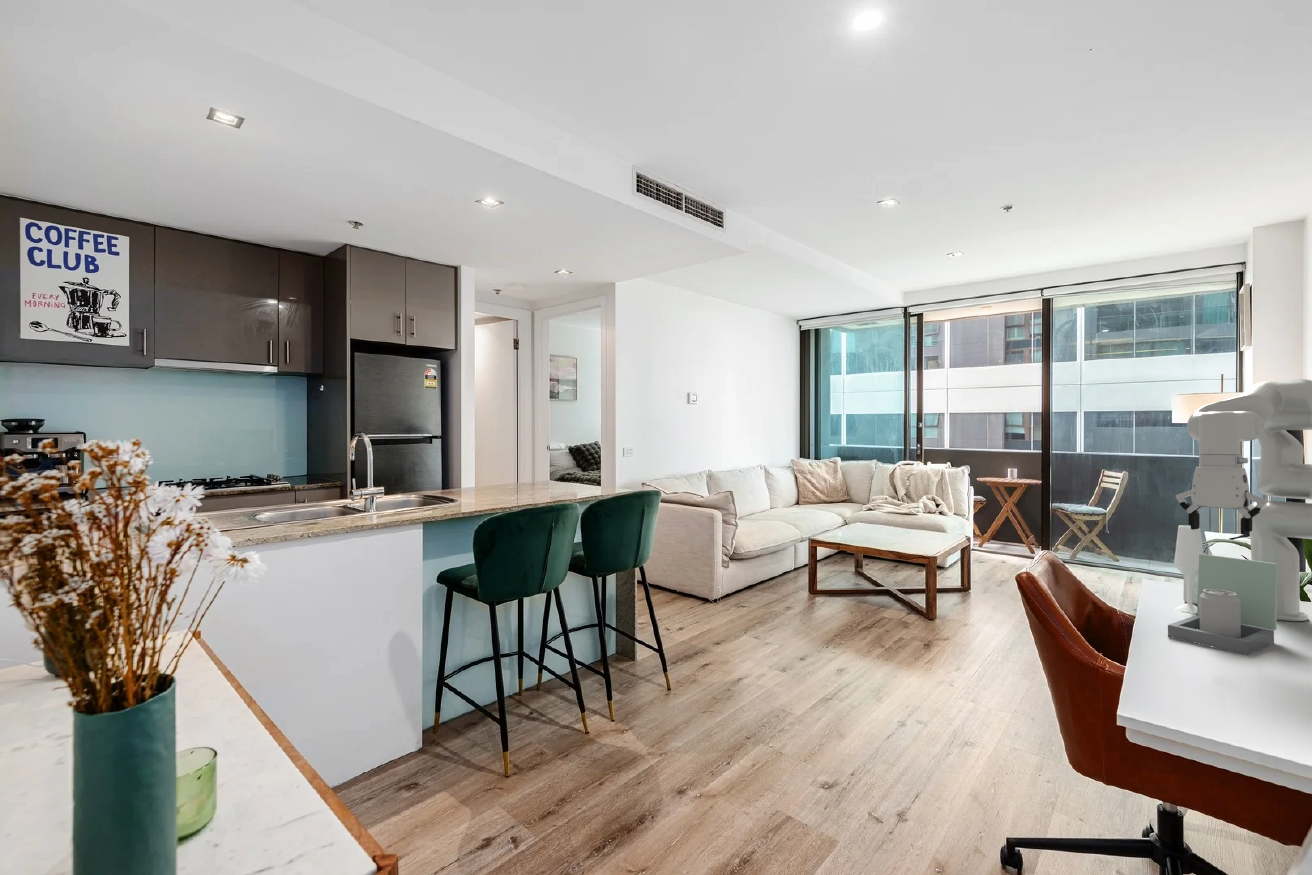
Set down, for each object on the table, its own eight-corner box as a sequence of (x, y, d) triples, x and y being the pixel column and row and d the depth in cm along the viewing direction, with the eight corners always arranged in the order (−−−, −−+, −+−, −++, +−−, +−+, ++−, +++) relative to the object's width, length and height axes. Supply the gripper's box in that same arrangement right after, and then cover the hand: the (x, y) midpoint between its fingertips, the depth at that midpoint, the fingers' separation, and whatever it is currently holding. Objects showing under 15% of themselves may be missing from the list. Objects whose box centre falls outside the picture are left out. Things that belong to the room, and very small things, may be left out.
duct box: (1196, 626, 163) (1196, 615, 163) (1273, 642, 150) (1273, 630, 150) (1167, 636, 156) (1167, 624, 156) (1246, 655, 142) (1246, 641, 142)
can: (1243, 647, 148) (1242, 596, 148) (1201, 641, 152) (1200, 592, 152) (1238, 638, 154) (1238, 590, 154) (1198, 633, 158) (1198, 585, 158)
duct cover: (1196, 614, 164) (1199, 614, 164) (1274, 630, 150) (1276, 630, 151) (1199, 553, 164) (1201, 553, 165) (1276, 563, 151) (1278, 563, 152)
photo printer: (1230, 609, 179) (1230, 566, 179) (1220, 610, 177) (1220, 567, 177) (1190, 600, 188) (1190, 559, 188) (1180, 601, 187) (1180, 560, 187)
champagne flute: (1202, 609, 179) (1202, 525, 179) (1207, 615, 173) (1207, 528, 173) (1172, 605, 183) (1172, 524, 182) (1176, 611, 177) (1176, 527, 177)
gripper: (1272, 462, 147) (1273, 535, 147) (1183, 460, 162) (1183, 526, 162) (1260, 463, 143) (1260, 537, 143) (1169, 461, 159) (1169, 528, 159)
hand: (1219, 531), depth 153 cm, fingers open, 9 cm apart
